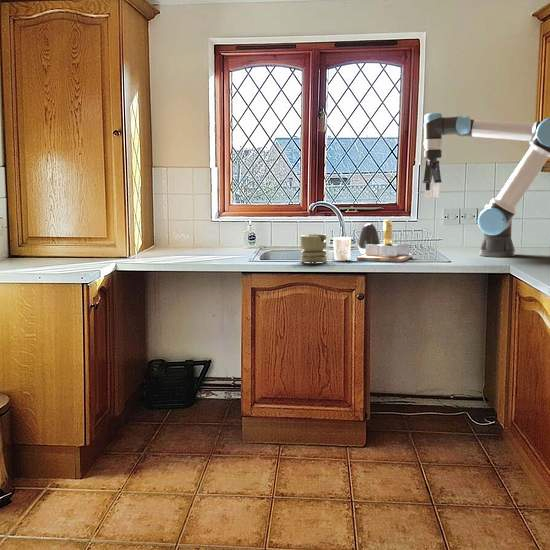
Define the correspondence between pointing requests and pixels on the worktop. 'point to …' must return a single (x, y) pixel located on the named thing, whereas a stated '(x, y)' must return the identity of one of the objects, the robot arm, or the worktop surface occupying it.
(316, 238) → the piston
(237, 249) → the worktop surface
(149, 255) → the worktop surface
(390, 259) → the mount board
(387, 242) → the pin
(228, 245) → the worktop surface
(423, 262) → the worktop surface
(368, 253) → the white piece
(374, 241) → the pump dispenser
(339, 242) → the white cup
